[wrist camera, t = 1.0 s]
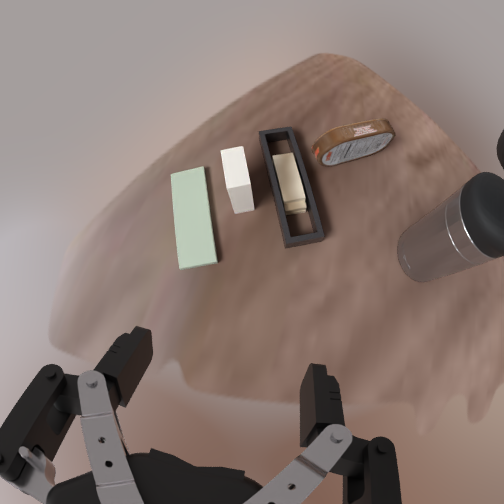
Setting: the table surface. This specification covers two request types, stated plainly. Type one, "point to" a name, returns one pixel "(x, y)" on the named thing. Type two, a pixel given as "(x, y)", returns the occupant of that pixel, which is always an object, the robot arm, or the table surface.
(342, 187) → the table surface
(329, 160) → the tin
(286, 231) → the frame
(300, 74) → the table surface
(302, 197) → the offcut stack
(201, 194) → the board
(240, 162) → the white rectangular block
